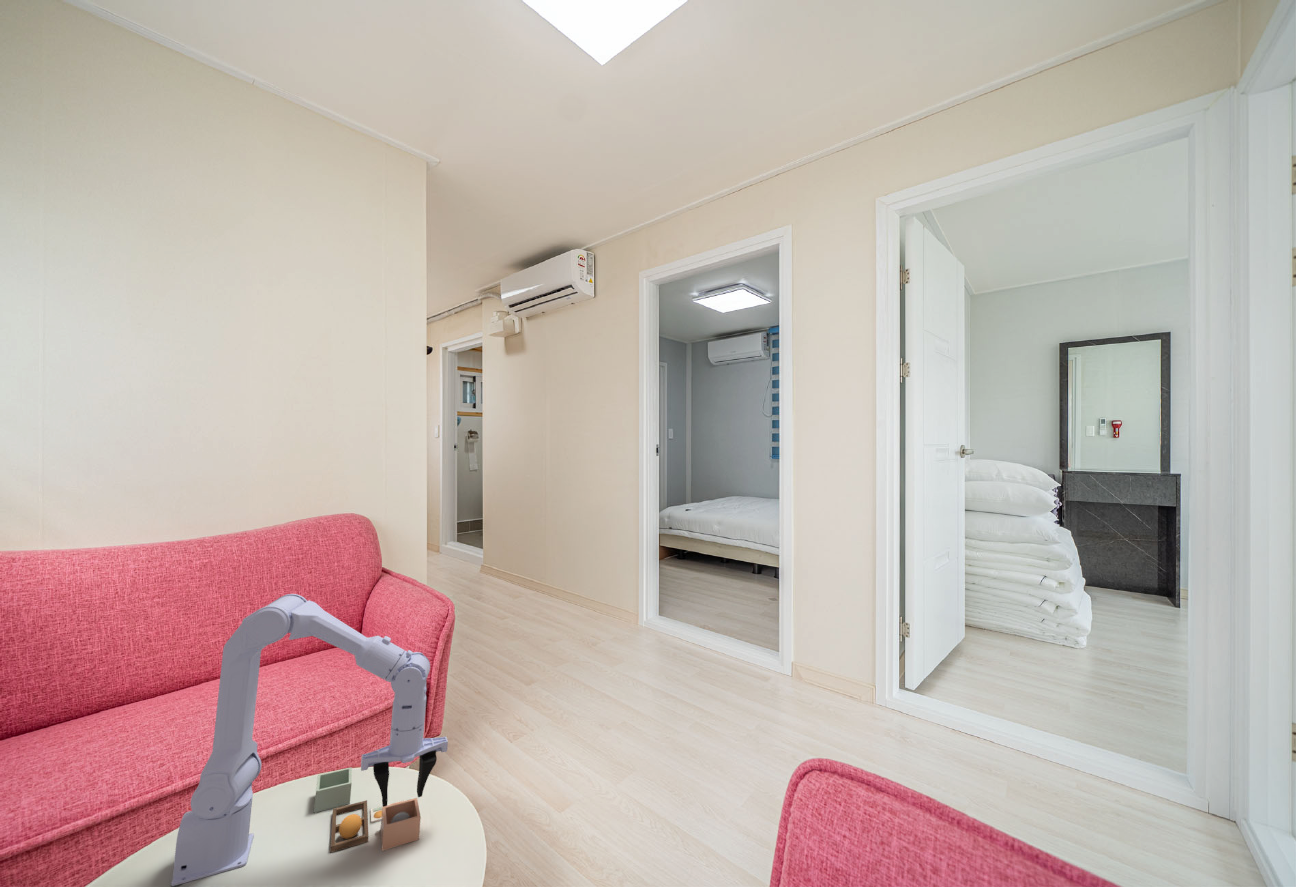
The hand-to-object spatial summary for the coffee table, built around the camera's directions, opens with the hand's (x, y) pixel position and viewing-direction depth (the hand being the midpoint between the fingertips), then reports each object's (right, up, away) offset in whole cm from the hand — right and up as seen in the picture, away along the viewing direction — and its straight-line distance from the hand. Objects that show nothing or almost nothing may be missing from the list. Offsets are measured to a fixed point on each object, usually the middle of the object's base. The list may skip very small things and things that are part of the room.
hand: (402, 798), depth 93 cm
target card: (-5, -7, +5) cm, 10 cm away
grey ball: (0, -5, 0) cm, 5 cm away
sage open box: (-18, -6, +8) cm, 21 cm away
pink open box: (0, -6, 0) cm, 6 cm away
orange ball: (-9, -4, -1) cm, 10 cm away
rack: (-10, -6, +1) cm, 12 cm away
